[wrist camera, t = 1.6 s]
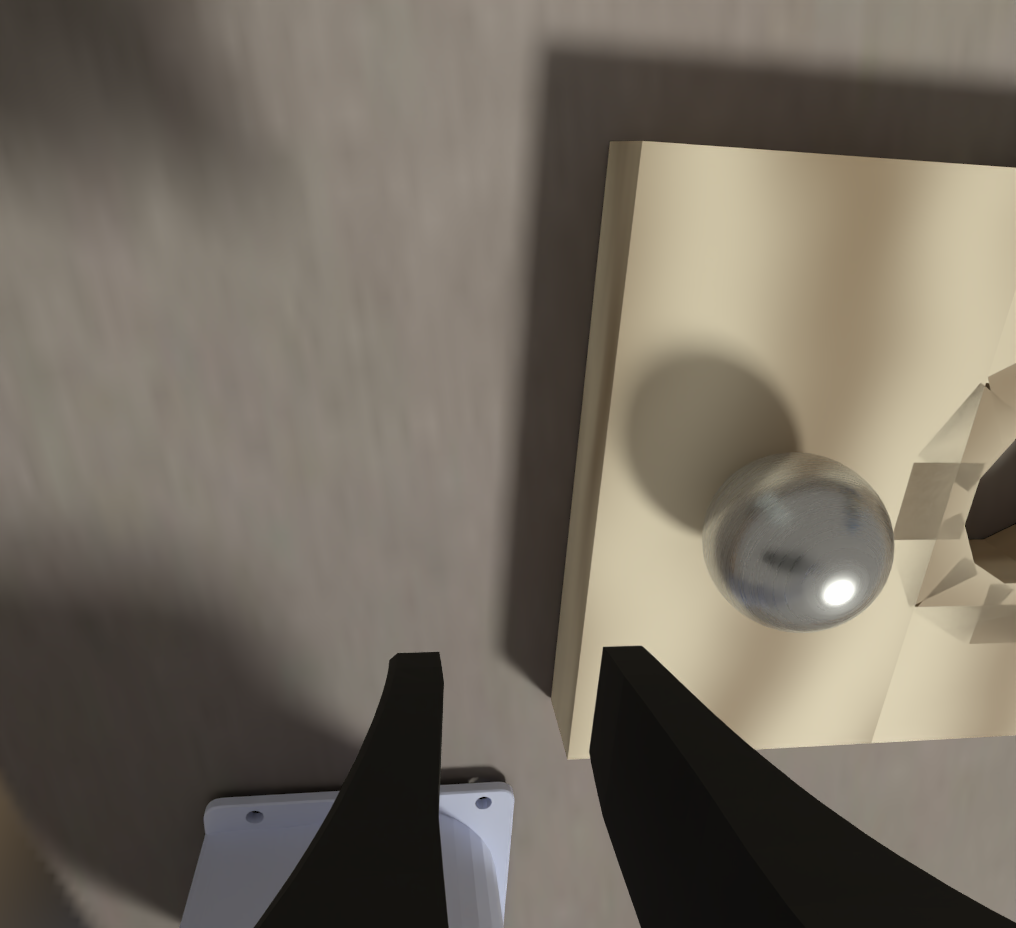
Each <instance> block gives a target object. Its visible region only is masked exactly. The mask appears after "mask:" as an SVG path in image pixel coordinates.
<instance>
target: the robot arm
mask: <svg viewBox="0 0 1016 928" xmlns="http://www.w3.org/2000/svg"><path fill="white" fill-rule="evenodd" d="M443 690H444V680H443V673H442V666H441V660H440V654H439V652H423V653H397V654H396V655H395V656H394V657H393V658H391V659H390V660H389V669H388V674H387V679H386V683H385V686H384V690H383V693H382V696H381V699H380V702H379V705H378V708H377V710H376V713H375V716H374V719H373V721H372V723H371V726H370V728H369V730H368V733H367V735H366V737H365V740H364V742H363V744H362V747H361V749H360V751H359V754H358V756H357V758H356V760H355V762H354V764H353V766H352V768H351V770H350V772H349V774H348V776H347V778H346V780H345V782H344V784H343V786H342V788H341V790H340V791H330V792H312V793H295V794H278V795H261V796H243V797H226V798H218V799H214V800H213V801H211V802H209V804H208V805H207V806H206V810H205V813H204V819H203V820H204V828H205V837H204V841H203V845H202V848H201V852H200V855H199V859H198V863H197V866H196V870H195V873H194V877H193V881H192V884H191V888H190V891H189V895H188V899H187V902H186V906H185V909H184V913H183V917H182V920H181V924H180V927H179V928H504V926H503V923H504V912H505V901H506V889H507V878H508V867H509V855H510V844H511V832H512V821H513V810H514V795H513V789H512V787H511V786H510V785H509V784H507V783H505V782H485V783H467V784H450V785H440V772H441V745H442V718H443ZM589 754H590V759H591V764H592V769H593V774H594V779H595V784H596V788H597V793H598V797H599V801H600V806H601V810H602V815H603V818H604V821H605V824H606V827H607V830H608V833H609V836H610V839H611V842H612V845H613V848H614V851H615V854H616V857H617V860H618V863H619V865H620V868H621V871H622V874H623V877H624V880H625V883H626V886H627V888H628V891H629V894H630V897H631V900H632V903H633V906H634V908H635V911H636V914H637V917H638V920H639V923H640V926H641V928H1016V923H1015V922H1013V921H1011V920H1009V919H1008V918H1006V917H1004V916H1002V915H1000V914H998V913H996V912H994V911H992V910H990V909H989V908H987V907H985V906H983V905H982V904H980V903H978V902H976V901H974V900H973V899H971V898H969V897H967V896H966V895H964V894H962V893H960V892H958V891H957V890H955V889H953V888H951V887H950V886H948V885H946V884H945V883H943V882H941V881H940V880H938V879H937V878H935V877H933V876H932V875H930V874H928V873H927V872H925V871H923V870H922V869H920V868H918V867H917V866H915V865H914V864H912V863H910V862H909V861H907V860H905V859H904V858H902V857H900V856H899V855H897V854H896V853H894V852H893V851H891V850H889V849H888V848H886V847H885V846H883V845H882V844H880V843H879V842H877V841H876V840H874V839H873V838H871V837H870V836H868V835H867V834H865V833H864V832H862V831H861V830H859V829H858V828H857V827H855V826H854V825H852V824H851V823H849V822H848V821H847V820H845V819H844V818H842V817H841V816H840V815H838V814H837V813H835V812H834V811H832V810H831V809H830V808H828V807H827V806H825V805H824V804H822V803H821V802H820V801H818V800H817V799H816V798H814V797H813V796H812V795H810V794H809V793H808V792H806V791H805V790H804V789H803V788H801V787H800V786H799V785H797V784H796V783H795V782H794V781H792V780H791V779H790V778H789V777H787V776H786V775H785V774H784V773H783V772H781V771H780V770H779V769H778V768H776V767H775V766H774V765H773V764H771V763H770V762H769V761H768V760H766V759H765V758H764V757H763V756H762V755H760V754H759V753H758V752H757V751H756V750H755V749H753V748H752V747H751V746H750V745H749V744H748V743H746V742H745V741H744V740H743V739H742V738H741V737H739V736H738V735H737V734H736V733H735V732H734V731H733V730H732V729H730V728H729V727H728V726H727V725H726V724H725V723H724V722H723V721H722V720H720V719H719V718H718V717H717V716H716V715H715V714H714V713H713V712H712V711H711V710H710V709H708V708H707V707H706V706H705V705H704V704H703V703H702V702H701V701H700V700H699V699H698V698H697V697H696V696H695V695H694V694H692V693H691V692H690V691H689V690H688V689H687V688H686V687H685V686H684V685H683V684H682V683H681V682H680V681H679V680H678V679H677V678H676V677H675V676H674V675H673V674H672V673H671V672H669V671H668V670H667V669H666V668H665V667H664V666H663V665H662V664H661V663H660V662H659V661H658V660H657V659H656V658H655V657H654V656H653V655H652V654H651V653H650V652H648V651H647V650H646V649H645V648H644V647H643V646H611V647H603V651H602V658H601V666H600V673H599V681H598V688H597V696H596V703H595V711H594V718H593V725H592V733H591V740H590V748H589ZM481 797H487V798H485V799H479V798H481ZM251 811H259V812H260V813H253V812H251Z"/></svg>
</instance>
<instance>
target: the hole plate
mask: <svg viewBox="0 0 1016 928" xmlns="http://www.w3.org/2000/svg"><path fill="white" fill-rule="evenodd" d="M1015 439H1016V168H1012V167H998V166H984V165H970V164H956V163H942V162H928V161H914V160H901V159H887V158H873V157H859V156H845V155H831V154H817V153H803V152H790V151H776V150H762V149H748V148H734V147H720V146H706V145H692V144H678V143H665V142H651V141H610V146H609V155H608V165H607V174H606V184H605V193H604V202H603V212H602V221H601V231H600V240H599V250H598V259H597V269H596V278H595V288H594V297H593V307H592V316H591V325H590V335H589V344H588V354H587V363H586V373H585V382H584V392H583V401H582V411H581V420H580V430H579V439H578V449H577V458H576V467H575V477H574V486H573V496H572V505H571V515H570V524H569V534H568V543H567V553H566V562H565V572H564V581H563V591H562V600H561V609H560V619H559V628H558V638H557V647H556V657H555V666H554V676H553V685H552V695H551V701H552V705H553V709H554V712H555V716H556V720H557V723H558V727H559V730H560V734H561V738H562V741H563V745H564V748H565V752H566V756H567V759H568V760H570V759H588V758H590V754H589V748H590V740H591V733H592V725H593V718H594V711H595V703H596V696H597V688H598V681H599V673H600V666H601V658H602V651H603V647H611V646H643V647H644V648H645V649H646V650H647V651H648V652H650V653H651V654H652V655H653V656H654V657H655V658H656V659H657V660H658V661H659V662H660V663H661V664H662V665H663V666H664V667H665V668H666V669H667V670H668V671H669V672H671V673H672V674H673V675H674V676H675V677H676V678H677V679H678V680H679V681H680V682H681V683H682V684H683V685H684V686H685V687H686V688H687V689H688V690H689V691H690V692H691V693H692V694H694V695H695V696H696V697H697V698H698V699H699V700H700V701H701V702H702V703H703V704H704V705H705V706H706V707H707V708H708V709H710V710H711V711H712V712H713V713H714V714H715V715H716V716H717V717H718V718H719V719H720V720H722V721H723V722H724V723H725V724H726V725H727V726H728V727H729V728H730V729H732V730H733V731H734V732H735V733H736V734H737V735H738V736H739V737H741V738H742V739H743V740H744V741H745V742H746V743H748V744H749V745H750V746H751V747H752V748H753V749H772V748H791V747H809V746H827V745H846V744H864V743H883V742H901V741H919V740H938V739H956V738H974V737H993V736H1011V735H1016V524H1015V525H1013V526H1010V527H1008V528H1006V529H1004V530H1002V531H1000V532H998V533H996V534H994V535H992V536H990V537H988V538H986V539H984V540H968V536H967V532H966V528H965V522H966V519H967V516H968V513H969V510H970V507H971V504H972V501H973V498H974V495H975V492H976V489H977V486H978V483H979V480H980V478H981V477H982V476H983V475H984V474H985V473H986V471H987V470H988V469H989V468H990V467H991V466H992V465H993V464H994V463H995V461H996V460H997V459H998V458H999V457H1000V456H1001V455H1002V454H1003V452H1004V451H1005V450H1006V449H1007V448H1008V447H1009V446H1010V445H1011V444H1012V442H1013V441H1014V440H1015ZM788 452H800V453H811V454H816V455H821V456H824V457H827V458H830V459H832V460H835V461H838V462H840V463H841V464H843V465H845V466H847V467H848V468H850V469H852V470H854V471H855V472H856V473H857V474H859V475H860V476H861V477H862V478H863V479H865V480H866V481H867V482H868V483H869V484H870V486H871V487H872V488H873V489H874V490H875V491H876V493H877V494H878V495H879V497H880V499H881V500H882V502H883V503H884V505H885V508H886V510H887V512H888V514H889V517H890V520H891V524H892V529H893V533H894V543H895V547H894V560H893V564H892V569H891V571H890V574H889V577H888V579H887V582H886V584H885V586H884V588H883V589H882V591H881V593H880V594H879V596H878V597H877V598H876V599H875V600H874V602H873V603H872V604H871V605H870V606H869V607H868V608H867V609H866V610H864V611H863V612H862V613H861V614H860V615H858V616H857V617H855V618H854V619H852V620H850V621H848V622H847V623H845V624H842V625H840V626H838V627H835V628H831V629H828V630H824V631H819V632H812V633H792V632H784V631H779V630H776V629H772V628H769V627H765V626H763V625H761V624H759V623H757V622H755V621H753V620H751V619H749V618H747V617H746V616H744V615H743V614H741V613H740V612H739V611H737V610H736V609H735V608H734V607H733V606H732V605H731V604H730V603H728V601H727V600H726V599H725V598H724V597H723V596H722V594H721V593H720V592H719V591H718V589H717V587H716V586H715V584H714V582H713V580H712V579H711V577H710V575H709V572H708V569H707V566H706V563H705V560H704V555H703V549H702V530H703V523H704V519H705V515H706V512H707V509H708V507H709V504H710V502H711V500H712V499H713V497H714V495H715V494H716V492H717V491H718V489H719V488H720V487H721V486H722V484H723V483H724V482H725V481H726V480H727V479H728V478H729V477H730V476H731V475H732V474H734V473H735V472H736V471H738V470H739V469H740V468H742V467H743V466H745V465H747V464H749V463H750V462H753V461H755V460H757V459H759V458H762V457H766V456H769V455H774V454H779V453H788Z"/></svg>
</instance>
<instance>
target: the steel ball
mask: <svg viewBox="0 0 1016 928" xmlns="http://www.w3.org/2000/svg"><path fill="white" fill-rule="evenodd" d="M894 547H895V543H894V533H893V529H892V524H891V520H890V517H889V514H888V512H887V510H886V508H885V505H884V503H883V502H882V500H881V499H880V497H879V495H878V494H877V493H876V491H875V490H874V489H873V488H872V487H871V486H870V484H869V483H868V482H867V481H866V480H865V479H863V478H862V477H861V476H860V475H859V474H857V473H856V472H855V471H854V470H852V469H850V468H848V467H847V466H845V465H843V464H841V463H840V462H838V461H835V460H832V459H830V458H827V457H824V456H821V455H816V454H811V453H800V452H788V453H779V454H774V455H769V456H766V457H762V458H759V459H757V460H755V461H753V462H750V463H749V464H747V465H745V466H743V467H742V468H740V469H739V470H738V471H736V472H735V473H734V474H732V475H731V476H730V477H729V478H728V479H727V480H726V481H725V482H724V483H723V484H722V486H721V487H720V488H719V489H718V491H717V492H716V494H715V495H714V497H713V499H712V500H711V502H710V504H709V507H708V509H707V512H706V515H705V519H704V523H703V530H702V549H703V555H704V560H705V563H706V566H707V569H708V572H709V575H710V577H711V579H712V580H713V582H714V584H715V586H716V587H717V589H718V591H719V592H720V593H721V594H722V596H723V597H724V598H725V599H726V600H727V601H728V603H730V604H731V605H732V606H733V607H734V608H735V609H736V610H737V611H739V612H740V613H741V614H743V615H744V616H746V617H747V618H749V619H751V620H753V621H755V622H757V623H759V624H761V625H763V626H765V627H769V628H772V629H776V630H779V631H784V632H792V633H812V632H819V631H824V630H828V629H831V628H835V627H838V626H840V625H842V624H845V623H847V622H848V621H850V620H852V619H854V618H855V617H857V616H858V615H860V614H861V613H862V612H863V611H864V610H866V609H867V608H868V607H869V606H870V605H871V604H872V603H873V602H874V600H875V599H876V598H877V597H878V596H879V594H880V593H881V591H882V589H883V588H884V586H885V584H886V582H887V579H888V577H889V574H890V571H891V569H892V564H893V560H894Z"/></svg>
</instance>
